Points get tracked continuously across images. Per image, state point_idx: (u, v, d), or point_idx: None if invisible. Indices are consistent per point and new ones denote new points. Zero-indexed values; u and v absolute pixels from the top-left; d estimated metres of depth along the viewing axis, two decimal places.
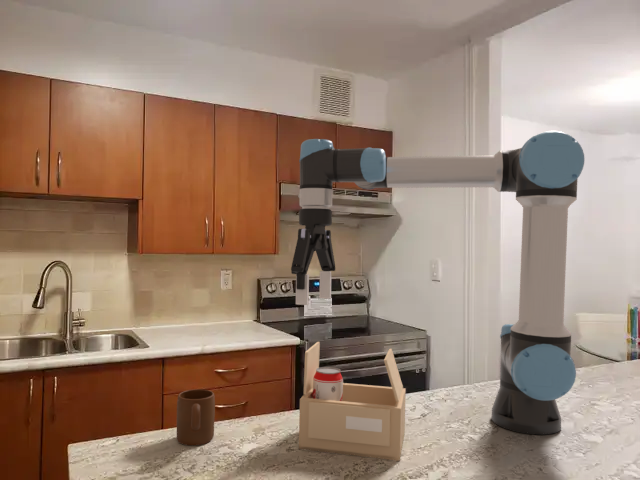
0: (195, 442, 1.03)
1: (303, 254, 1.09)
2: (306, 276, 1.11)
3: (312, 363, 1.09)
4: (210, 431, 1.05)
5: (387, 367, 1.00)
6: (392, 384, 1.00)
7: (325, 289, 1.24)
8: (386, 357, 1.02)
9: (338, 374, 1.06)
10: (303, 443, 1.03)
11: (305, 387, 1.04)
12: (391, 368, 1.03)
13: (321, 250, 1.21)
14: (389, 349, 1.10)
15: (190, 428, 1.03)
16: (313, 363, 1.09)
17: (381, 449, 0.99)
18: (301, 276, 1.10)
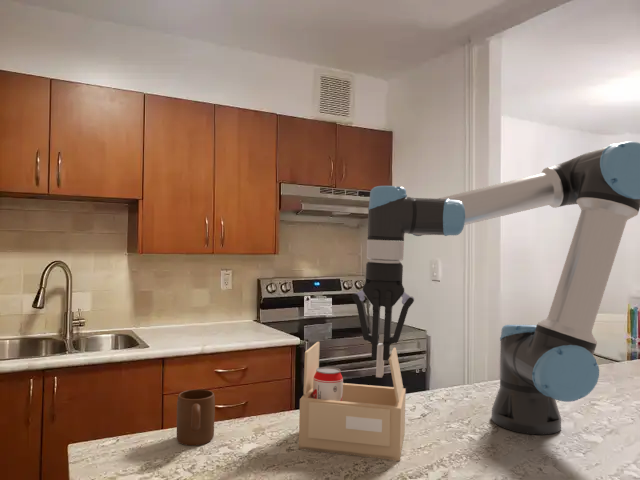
0: (195, 442, 1.03)
1: None
2: (377, 346, 1.05)
3: (312, 363, 1.09)
4: (210, 431, 1.05)
5: (391, 366, 1.00)
6: (394, 384, 1.00)
7: None
8: (391, 356, 1.02)
9: (339, 374, 1.06)
10: (303, 443, 1.03)
11: (305, 387, 1.04)
12: (394, 368, 1.03)
13: None
14: (393, 348, 1.10)
15: (190, 428, 1.03)
16: (313, 363, 1.10)
17: (381, 449, 0.99)
18: (372, 345, 1.06)
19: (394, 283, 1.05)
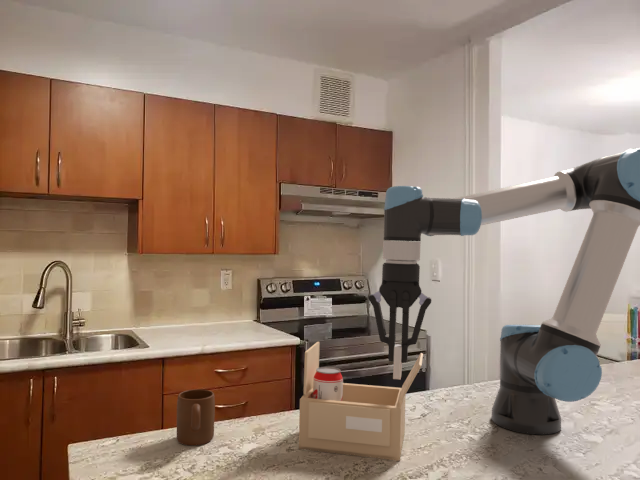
0: (195, 442, 1.03)
1: None
2: (394, 348, 1.04)
3: (312, 363, 1.09)
4: (210, 431, 1.05)
5: (416, 372, 0.99)
6: (408, 387, 0.99)
7: None
8: (420, 362, 1.01)
9: (339, 373, 1.06)
10: (303, 443, 1.03)
11: (305, 387, 1.04)
12: None
13: None
14: (421, 353, 1.09)
15: (190, 428, 1.03)
16: (313, 363, 1.10)
17: (381, 449, 0.99)
18: None
19: (411, 284, 1.04)
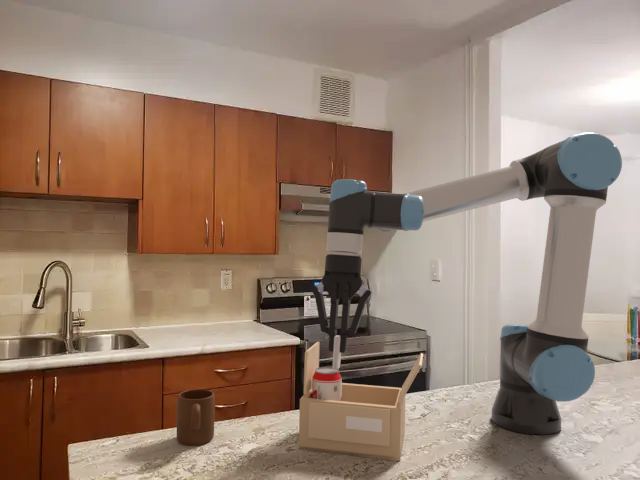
0: (195, 442, 1.03)
1: None
2: (334, 338, 1.06)
3: (312, 363, 1.09)
4: (210, 431, 1.05)
5: (416, 372, 0.99)
6: (408, 387, 0.99)
7: None
8: (421, 362, 1.01)
9: (338, 373, 1.06)
10: (303, 443, 1.03)
11: (305, 387, 1.04)
12: None
13: None
14: (421, 353, 1.09)
15: (190, 428, 1.03)
16: (313, 363, 1.10)
17: (381, 449, 0.99)
18: None
19: (352, 275, 1.06)
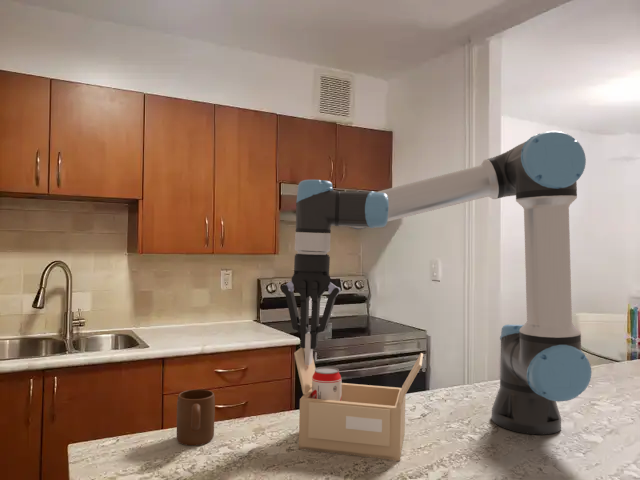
0: (195, 442, 1.03)
1: None
2: None
3: None
4: (210, 431, 1.05)
5: (416, 372, 0.99)
6: (408, 387, 0.99)
7: None
8: (421, 362, 1.01)
9: (338, 373, 1.06)
10: (303, 443, 1.03)
11: (303, 387, 1.04)
12: None
13: None
14: (421, 353, 1.09)
15: (190, 428, 1.03)
16: None
17: (381, 449, 0.99)
18: None
19: (320, 274, 1.08)
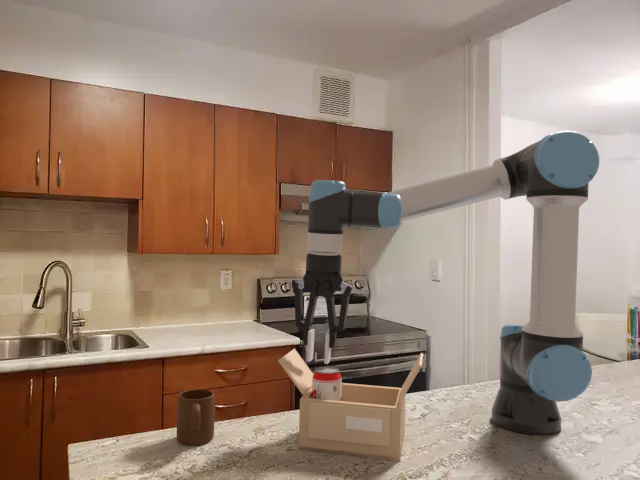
0: (195, 442, 1.03)
1: None
2: (308, 333, 1.10)
3: (295, 367, 1.09)
4: (210, 431, 1.05)
5: (416, 372, 0.99)
6: (408, 387, 0.99)
7: None
8: (421, 362, 1.01)
9: (338, 373, 1.06)
10: (303, 443, 1.03)
11: (300, 388, 1.04)
12: None
13: None
14: (421, 353, 1.09)
15: (190, 428, 1.03)
16: (297, 367, 1.10)
17: (381, 449, 0.99)
18: None
19: (331, 275, 1.09)
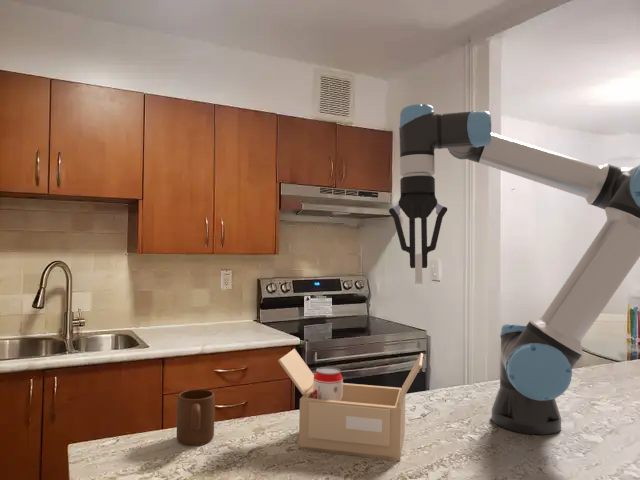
0: (195, 442, 1.03)
1: None
2: (415, 255, 1.13)
3: (295, 367, 1.09)
4: (210, 431, 1.05)
5: (416, 372, 0.99)
6: (408, 387, 0.99)
7: None
8: (421, 362, 1.01)
9: (339, 374, 1.06)
10: (303, 443, 1.03)
11: (300, 388, 1.04)
12: None
13: None
14: (421, 353, 1.09)
15: (190, 428, 1.03)
16: (297, 367, 1.10)
17: (381, 449, 0.99)
18: None
19: (428, 195, 1.12)
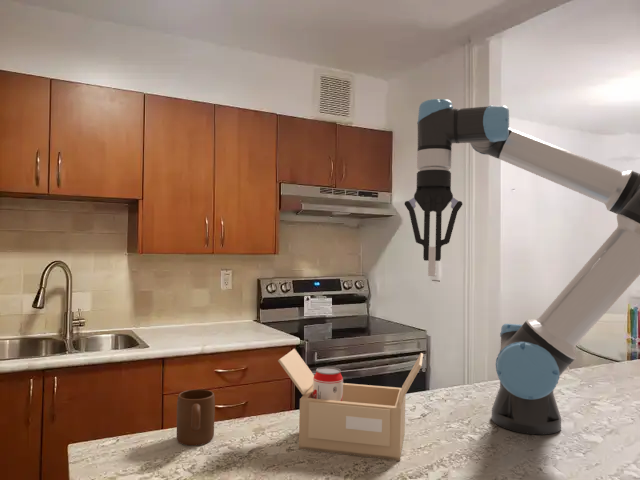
0: (195, 442, 1.03)
1: None
2: (428, 248, 1.15)
3: (295, 367, 1.09)
4: (210, 431, 1.05)
5: (416, 372, 0.99)
6: (408, 387, 0.99)
7: None
8: (421, 362, 1.01)
9: (339, 374, 1.06)
10: (303, 443, 1.03)
11: (300, 388, 1.04)
12: None
13: None
14: (421, 353, 1.09)
15: (190, 428, 1.03)
16: (297, 367, 1.10)
17: (381, 449, 0.99)
18: None
19: (443, 189, 1.14)
